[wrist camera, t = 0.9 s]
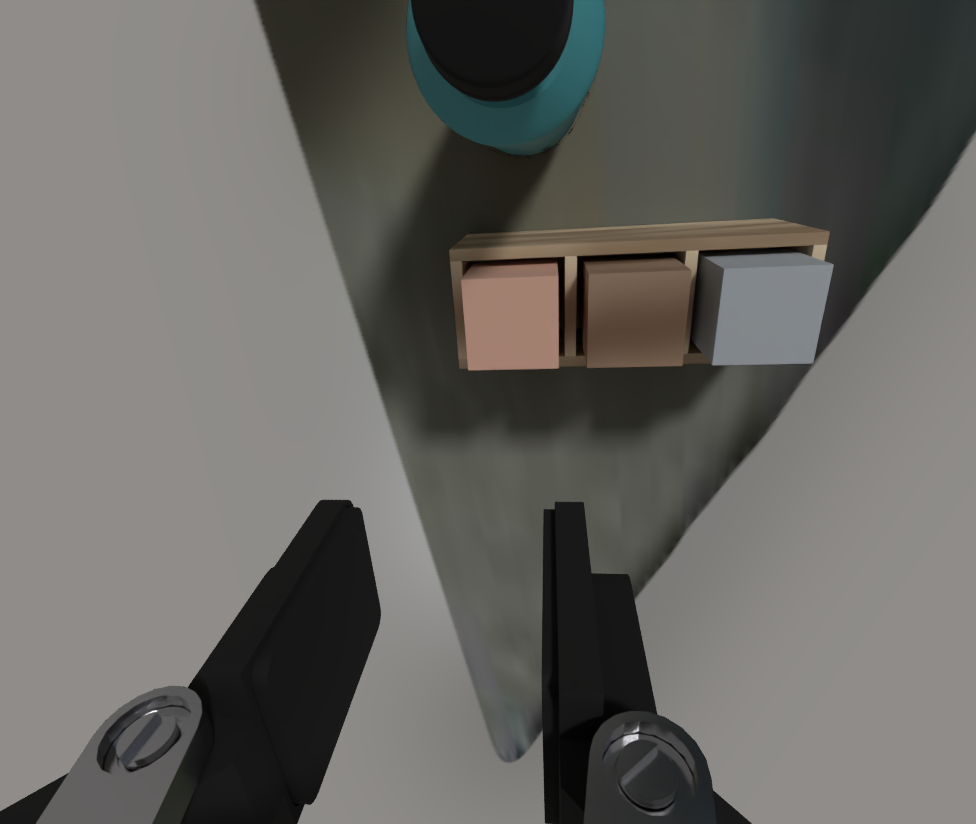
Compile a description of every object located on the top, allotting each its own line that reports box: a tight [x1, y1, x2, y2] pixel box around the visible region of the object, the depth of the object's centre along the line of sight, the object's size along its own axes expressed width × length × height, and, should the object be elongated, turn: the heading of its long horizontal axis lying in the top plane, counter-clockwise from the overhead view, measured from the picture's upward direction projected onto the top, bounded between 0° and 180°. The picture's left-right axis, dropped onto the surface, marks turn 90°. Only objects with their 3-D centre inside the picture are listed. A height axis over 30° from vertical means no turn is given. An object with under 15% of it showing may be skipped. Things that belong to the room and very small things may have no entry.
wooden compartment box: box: [449, 218, 830, 369], centre depth 31 cm, size 7×19×7 cm, turn 93°
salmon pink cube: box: [461, 259, 559, 370], centre depth 28 cm, size 5×5×5 cm
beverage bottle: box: [406, 0, 605, 159], centre depth 21 cm, size 6×7×20 cm
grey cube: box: [690, 248, 834, 365], centre depth 27 cm, size 5×5×5 cm
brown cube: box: [581, 254, 692, 368], centre depth 27 cm, size 5×5×5 cm
